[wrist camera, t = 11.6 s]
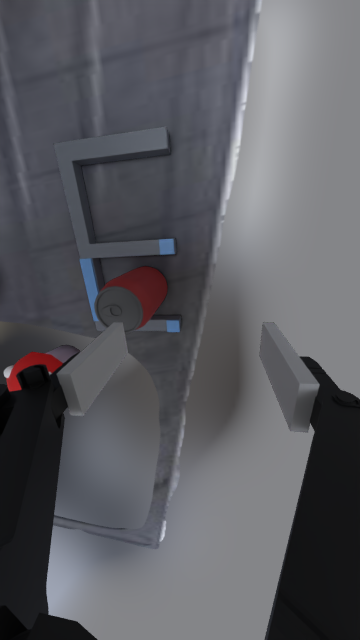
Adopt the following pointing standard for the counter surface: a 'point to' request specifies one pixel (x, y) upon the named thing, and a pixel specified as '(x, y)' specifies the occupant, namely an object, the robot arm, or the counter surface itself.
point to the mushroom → (49, 359)
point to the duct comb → (70, 164)
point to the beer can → (131, 298)
